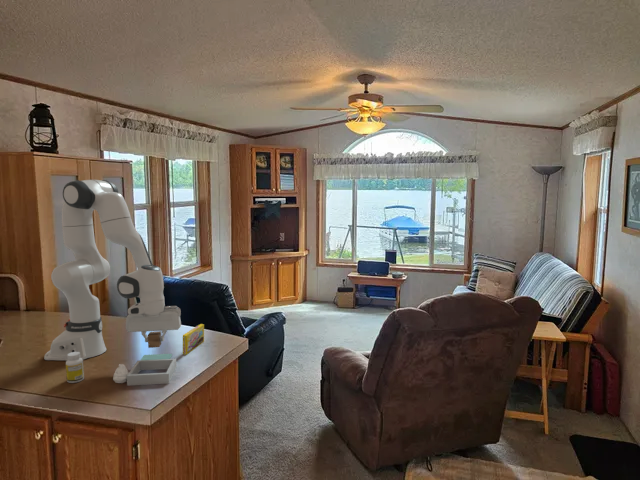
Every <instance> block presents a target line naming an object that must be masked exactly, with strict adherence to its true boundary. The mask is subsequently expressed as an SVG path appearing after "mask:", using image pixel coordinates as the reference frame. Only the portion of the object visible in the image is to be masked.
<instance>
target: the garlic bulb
mask: <svg viewBox="0 0 640 480" xmlns="http://www.w3.org/2000/svg"><path fill="white" fill-rule="evenodd" d="M129 372H130V371H129V370H128V369H127V366H126V365H125V364H123V363H119V364H118V367H117V368H116V369H115V372H114V373H113V377H112V380H113V382H115V383H116V384H123V383H127V375H128V373H129Z"/></svg>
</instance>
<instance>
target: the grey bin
mask: <svg viewBox="0 0 640 480" xmlns="http://www.w3.org/2000/svg"><path fill="white" fill-rule="evenodd" d="M176 369H177V358H171V359H159V360H141V359H140V360H139V359H138V360H137V361H136V362H135V363H134V364H133V366H132V368H131V369H130V371H128V372H129V373H128V375H127V381H126V386H128V387H129V386H141V385H142V386H145V385H159V384H160V385H162V384H163V385H164V384H165V385H166V384H170V382H171V380H172V378H173V376H174V374H175V372H176ZM155 370H156V371H157V370H158V371H159V370H166V371H165V372H152V373H150V372H149V373H140V371H155Z"/></svg>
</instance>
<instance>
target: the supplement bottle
mask: <svg viewBox="0 0 640 480" xmlns="http://www.w3.org/2000/svg"><path fill="white" fill-rule="evenodd" d="M67 358H68V360H65V372H66V381H67V383H70V384H75V383H76V384H77V383H80V382H82V381H83V380H84V379H85V370H84V368H85V367H84V360H83V359H82V358H80V352H72V353H69V354H68V355H67Z"/></svg>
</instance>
